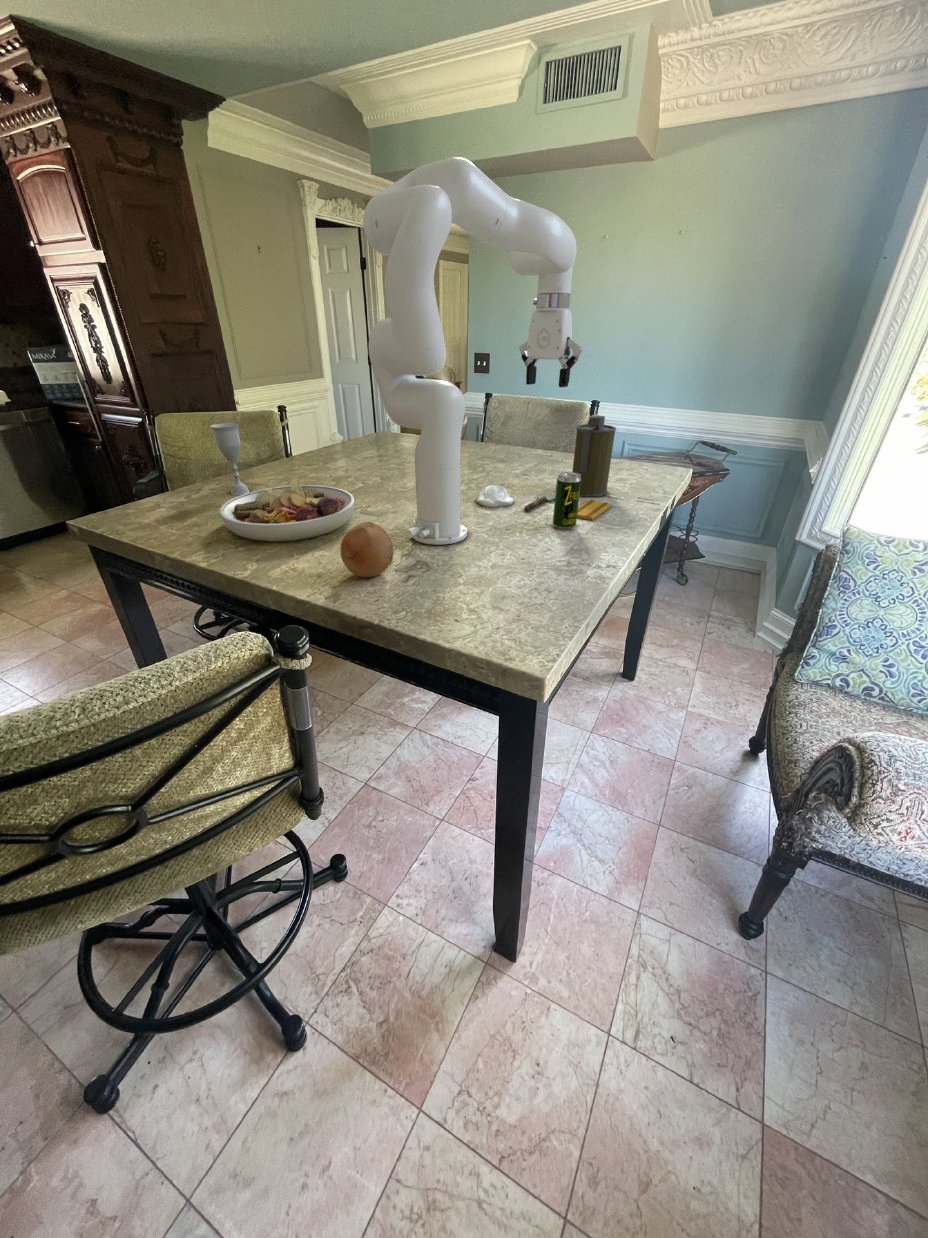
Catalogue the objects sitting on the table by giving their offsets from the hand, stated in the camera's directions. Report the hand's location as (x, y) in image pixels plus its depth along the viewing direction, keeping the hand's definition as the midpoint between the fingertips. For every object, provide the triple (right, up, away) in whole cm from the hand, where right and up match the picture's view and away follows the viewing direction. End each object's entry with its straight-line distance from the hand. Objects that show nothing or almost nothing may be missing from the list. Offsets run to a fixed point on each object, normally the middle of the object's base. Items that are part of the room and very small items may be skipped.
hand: (546, 385), depth 124 cm
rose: (-12, -27, +10) cm, 31 cm away
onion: (-38, -50, -29) cm, 69 cm away
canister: (+15, -22, +18) cm, 32 cm away
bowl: (-61, -35, -4) cm, 71 cm away
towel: (+12, -30, +3) cm, 33 cm away
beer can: (+3, -36, -6) cm, 37 cm away
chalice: (-84, -22, +18) cm, 89 cm away
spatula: (0, -27, +9) cm, 29 cm away
